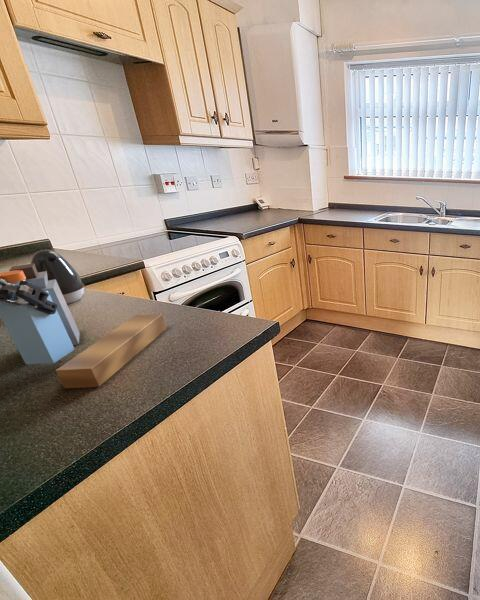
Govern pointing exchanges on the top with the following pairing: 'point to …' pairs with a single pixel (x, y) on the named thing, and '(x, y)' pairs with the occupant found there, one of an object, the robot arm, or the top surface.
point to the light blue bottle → (34, 328)
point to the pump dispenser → (60, 274)
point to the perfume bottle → (52, 297)
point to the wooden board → (111, 352)
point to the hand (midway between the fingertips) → (38, 310)
